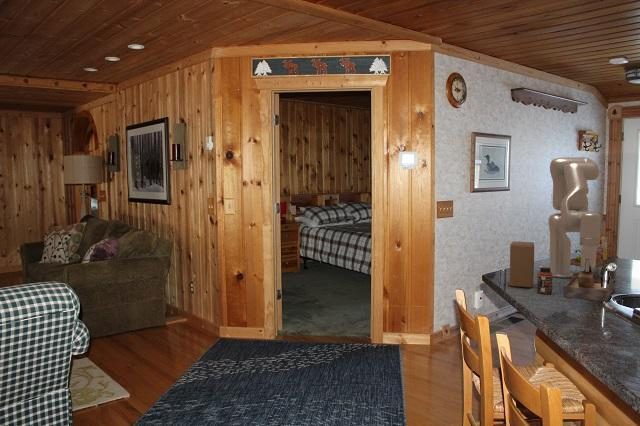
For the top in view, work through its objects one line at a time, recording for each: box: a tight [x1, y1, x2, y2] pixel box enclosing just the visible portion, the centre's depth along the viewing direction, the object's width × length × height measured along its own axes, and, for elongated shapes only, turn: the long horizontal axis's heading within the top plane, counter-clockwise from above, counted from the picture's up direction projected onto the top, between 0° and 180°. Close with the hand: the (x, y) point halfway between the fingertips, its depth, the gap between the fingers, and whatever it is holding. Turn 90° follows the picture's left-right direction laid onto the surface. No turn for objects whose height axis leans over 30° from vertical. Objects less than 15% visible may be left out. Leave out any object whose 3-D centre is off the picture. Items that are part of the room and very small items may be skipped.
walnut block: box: [577, 270, 595, 289], centre depth 209 cm, size 5×5×6 cm
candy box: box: [596, 235, 609, 261], centre depth 294 cm, size 9×4×15 cm, turn 29°
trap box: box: [563, 274, 615, 303], centre depth 216 cm, size 16×28×4 cm, turn 145°
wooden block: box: [509, 240, 535, 289], centre depth 232 cm, size 10×10×20 cm
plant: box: [570, 249, 606, 268], centre depth 282 cm, size 20×20×11 cm
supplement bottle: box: [536, 266, 553, 295], centre depth 216 cm, size 6×6×11 cm
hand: (588, 284), depth 213 cm, fingers closed
